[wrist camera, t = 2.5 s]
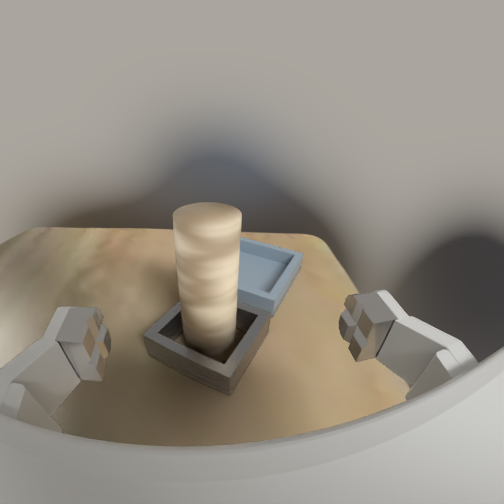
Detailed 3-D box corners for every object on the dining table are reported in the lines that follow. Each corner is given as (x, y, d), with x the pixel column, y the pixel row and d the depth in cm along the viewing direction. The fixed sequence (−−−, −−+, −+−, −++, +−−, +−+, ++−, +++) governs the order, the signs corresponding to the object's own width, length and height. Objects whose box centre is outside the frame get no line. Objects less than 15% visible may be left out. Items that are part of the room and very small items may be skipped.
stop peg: (176, 351, 25) (158, 218, 18) (202, 322, 29) (198, 198, 22) (220, 371, 24) (219, 234, 17) (243, 338, 28) (252, 210, 21)
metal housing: (149, 355, 24) (143, 334, 23) (197, 305, 32) (195, 285, 30) (229, 395, 21) (229, 377, 20) (268, 332, 29) (271, 312, 27)
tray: (185, 285, 35) (184, 269, 34) (229, 247, 44) (229, 233, 43) (272, 317, 31) (274, 300, 30) (300, 268, 41) (303, 253, 39)
